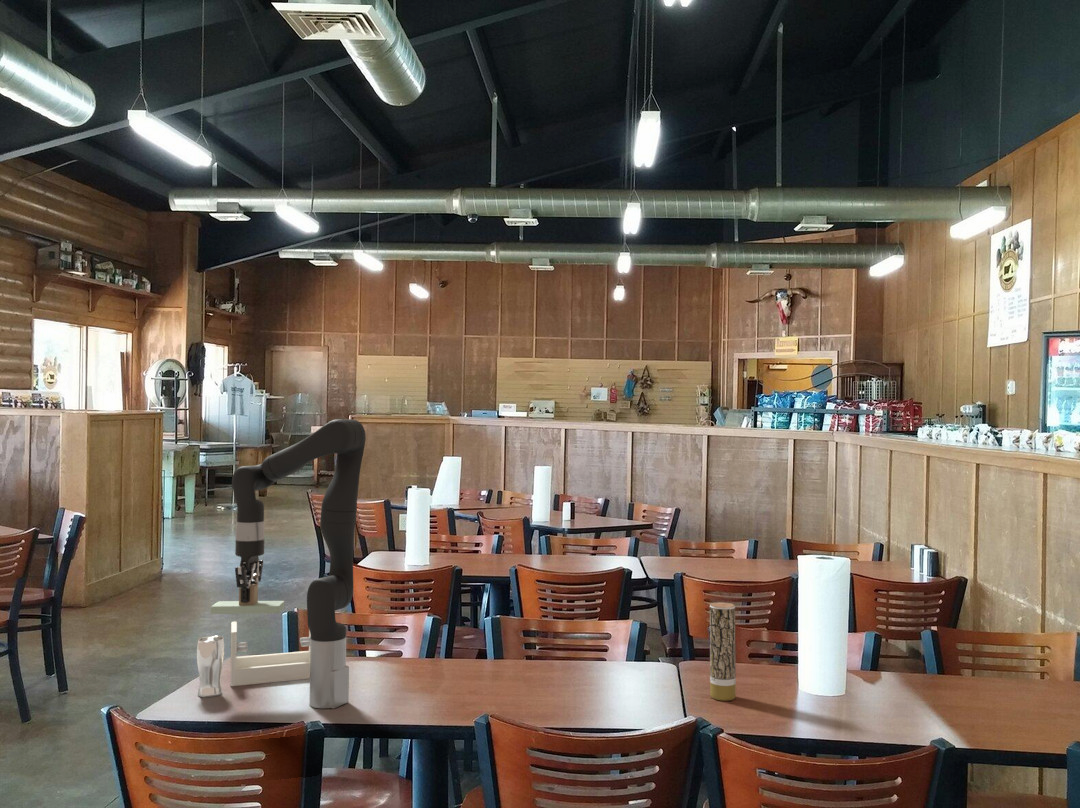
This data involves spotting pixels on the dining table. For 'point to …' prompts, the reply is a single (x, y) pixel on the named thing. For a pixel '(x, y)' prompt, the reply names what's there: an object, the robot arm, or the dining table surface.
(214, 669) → the beer glass
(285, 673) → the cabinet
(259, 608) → the shelf board
